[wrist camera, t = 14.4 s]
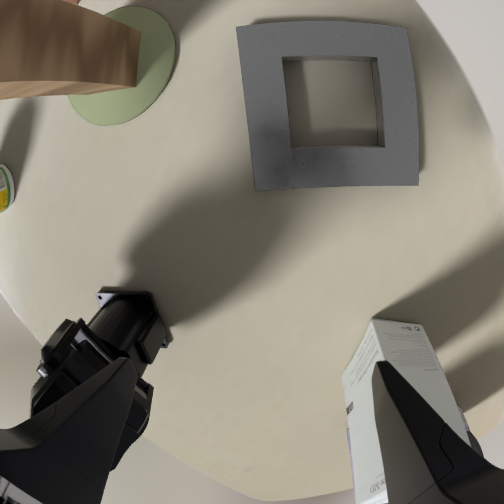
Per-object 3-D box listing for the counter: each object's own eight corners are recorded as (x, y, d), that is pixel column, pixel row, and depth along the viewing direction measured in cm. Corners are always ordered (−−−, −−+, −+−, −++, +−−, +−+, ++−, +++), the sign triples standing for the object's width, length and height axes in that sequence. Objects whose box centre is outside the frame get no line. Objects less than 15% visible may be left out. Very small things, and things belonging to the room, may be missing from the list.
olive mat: (74, 139, 19) (72, 139, 19) (67, 36, 15) (64, 35, 15) (182, 108, 18) (180, 108, 17) (171, -9, 13) (169, -11, 13)
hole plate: (257, 185, 20) (255, 191, 18) (239, 33, 15) (235, 26, 14) (410, 180, 18) (418, 185, 17) (398, 33, 13) (406, 28, 12)
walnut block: (136, 87, 17) (-17, 83, 5) (88, 94, 17) (-55, 110, 5) (141, 32, 15) (4, -15, 3) (92, 43, 15) (-43, 27, 4)
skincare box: (370, 316, 23) (411, 475, 10) (424, 322, 23) (481, 458, 10) (339, 377, 27) (350, 511, 14) (389, 380, 27) (414, 501, 13)
